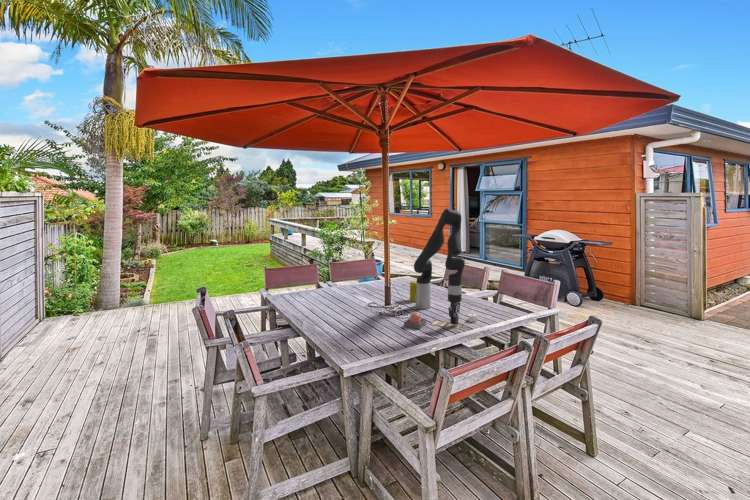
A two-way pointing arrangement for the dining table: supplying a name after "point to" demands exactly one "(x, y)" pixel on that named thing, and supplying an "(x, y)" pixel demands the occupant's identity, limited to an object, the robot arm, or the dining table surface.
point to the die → (472, 318)
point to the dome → (415, 318)
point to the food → (413, 290)
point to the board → (446, 324)
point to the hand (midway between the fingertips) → (454, 322)
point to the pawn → (455, 319)
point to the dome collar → (415, 324)
